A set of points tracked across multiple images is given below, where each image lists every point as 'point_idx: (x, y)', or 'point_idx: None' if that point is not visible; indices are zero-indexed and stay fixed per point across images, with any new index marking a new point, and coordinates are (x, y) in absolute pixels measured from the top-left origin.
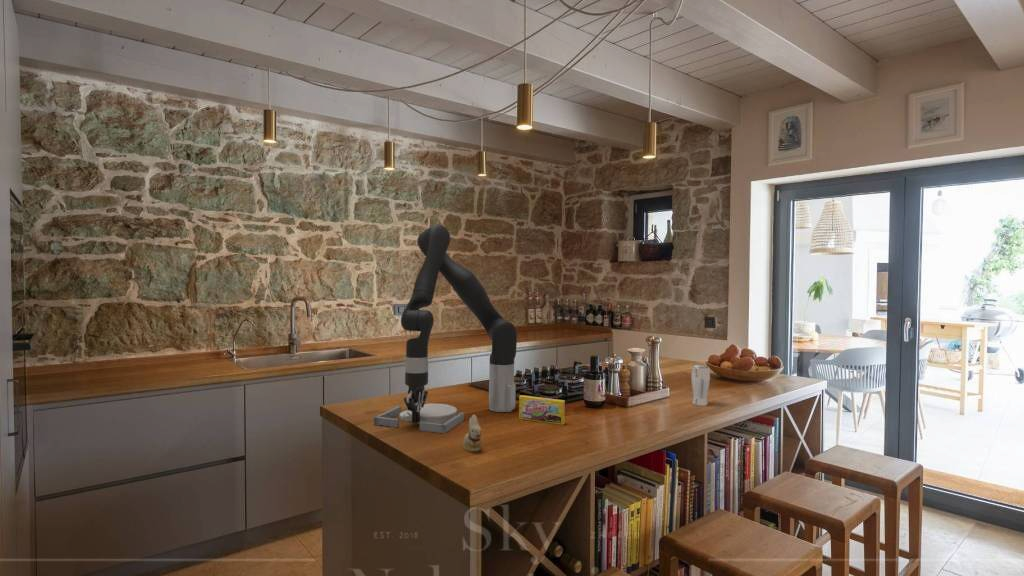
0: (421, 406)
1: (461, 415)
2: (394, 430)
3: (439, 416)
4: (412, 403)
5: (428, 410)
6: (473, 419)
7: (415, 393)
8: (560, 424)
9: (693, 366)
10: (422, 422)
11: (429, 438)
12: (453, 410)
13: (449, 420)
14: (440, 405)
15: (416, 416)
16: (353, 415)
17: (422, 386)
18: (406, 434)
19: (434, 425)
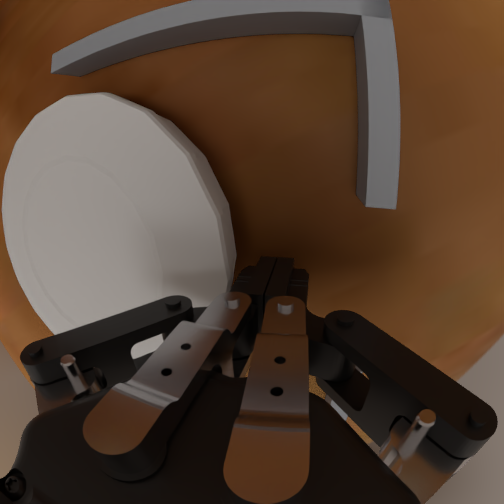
0: (192, 311)
1: (87, 39)
2: (405, 334)
3: (168, 130)
4: (441, 381)
5: (94, 275)
6: None
7: (352, 500)
8: None
9: None
10: (383, 188)
11: (489, 85)
12: (42, 126)
13: (239, 8)
14: (20, 248)
15: (296, 287)
16: None
17: (57, 482)
18: (465, 243)
19: (396, 73)
